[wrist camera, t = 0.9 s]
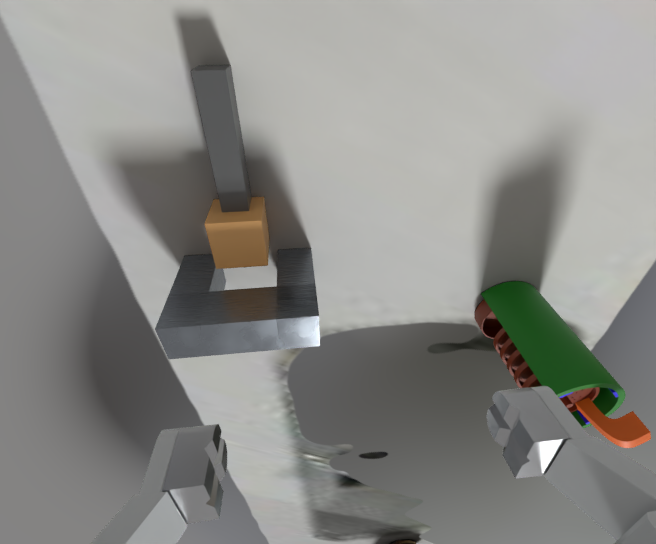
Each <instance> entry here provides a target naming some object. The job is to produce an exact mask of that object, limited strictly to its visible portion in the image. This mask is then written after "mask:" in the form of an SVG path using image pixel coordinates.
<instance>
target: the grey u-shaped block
mask: <svg viewBox="0 0 656 544" xmlns="http://www.w3.org/2000/svg"><path fill="white" fill-rule="evenodd" d="M225 284H226V280H225V276H224V272H223V269H216V266H215V262H214V258H213V255H212V254H207V255H191V256H184V259H183V261H182V264H181V266H180V269H179V271H178V273H177V276H176V278H175V281H174V283H173V286H172V288H171V291H170V293H169V296H168V298H167V301H166V303H165V306H164V308H163V311H162V313H161V316H160V318H159V321H158V323H157V326H156V328H155V330H156V332H157V334H158V337H159V339H160V341H161V343H162V345H163V348H164V350H165V352H166V354H167V356H168V358H169V359H177V358H188V357H199V356H211V355H222V354H234V353H245V352H257V351H268V350H279V349H291V348H302V347H313V346H320V332H319V312H318V304H317V295H316V287H315V278H314V270H313V261H312V253H311V248H298V249H283V250H278V262H277V287H264V288H251V289H237V290H224V289H225Z"/></svg>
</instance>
